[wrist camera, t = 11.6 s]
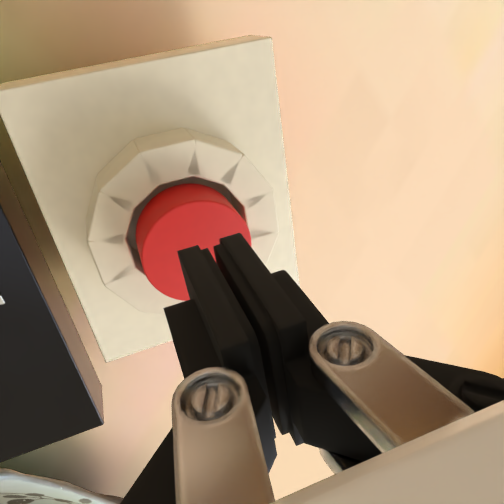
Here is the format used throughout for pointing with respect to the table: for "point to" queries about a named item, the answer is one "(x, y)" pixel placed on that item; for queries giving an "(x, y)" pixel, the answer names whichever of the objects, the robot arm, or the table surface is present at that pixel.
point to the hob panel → (37, 346)
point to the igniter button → (182, 232)
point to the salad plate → (46, 491)
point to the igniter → (150, 166)
